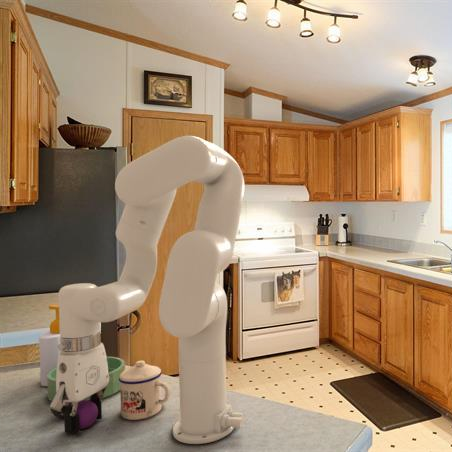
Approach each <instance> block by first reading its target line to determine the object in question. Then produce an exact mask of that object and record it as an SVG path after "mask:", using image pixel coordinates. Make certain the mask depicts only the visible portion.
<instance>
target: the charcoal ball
mask: <svg viewBox="0 0 452 452" xmlns="http://www.w3.org/2000/svg"><path fill="white" fill-rule="evenodd" d="M52 401H53V400H52ZM52 401H50V404H51V403H52ZM63 401H64V400H63ZM63 401H62V404H63ZM71 405H72V403H69V408H71ZM49 407H50V406H49ZM50 413H51V414H52V415H53V416H54V417H56V418H58V419H64V415H61V413H59V412H58V411H57V410H54V409H52V408H51V407H50Z"/></svg>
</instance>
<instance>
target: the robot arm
mask: <svg viewBox="0 0 452 452" xmlns="http://www.w3.org/2000/svg"><path fill="white" fill-rule="evenodd" d="M191 182H192V183H193V182H194V183H199V184H200V183H201V184H202V185H203V187H204V190H203V191H204V192H203V195H202V197H201V199H200V201H199V204H198V208H197V216H196V220H195V224H194V228H193V230H191V231H188V232H186V233H184V234H183V235H181V236H180V237H178V238H177V240H176V241H175V242H174V244H173V245H172V247H171V249H170V251H169V255H168V258H167V263H166V267H165V272H164V278H163V283H162V289H161V293H160V298H159V304H158V317H159V321H160V324H161V326H162V328H163V329H164V331H165V332H166V333H168V335H171V336H173V337H175V338H178V381H179V382H178V383H179V384H178V386H179V414H180V416H179V417H180V418H179V419H178V420H177V421H176V422H175V423H174V424H173V426H172V435H173V438H174V439H175V440H176V441H178V442H180V443H184V444H187V445H203V444H207V443H212V442H216V441H218V440H222V439H223V438H225V437H227V436H228V435H229V434H230V433H232V432H233V430H234V429H242V428H243V427H244V424H245V419H244V413H242V412H234V411H233V407H232V404H231V403H228V394H227V393H228V392H227V391H228V389H227V356H226V355H227V345H226V339H227V337H226V336H227V335H226V333H227V317H228V297H227V294H226V292H225V289H224V288H223V286H222V285H221V284H220V283H219V282H217V278H218V277H217V276H218V275H219V274H221V273H222V272H223V271H225V270H226V269H227V268H228V267H229V266H230V264H231V262H232V259H233V256H234V251H235V243H236V239H237V234H238V228H239V223H240V217H241V213H242V207H243V202H244V197H245V178H244V175H243V170H242V169H241V167H240V165H239V164H238V162H237V161H236V159H234V158H233V157H232V155H230V153H228V152H227V151H226V150H225V149H223V148H221V147H220V146H218V145H217V144H215V143H212V142H210V141H207V140H205V139H204V138H201V137H198V136H195V135H183V136H178V137H176V138H174V139H171V140H169V141H167V142H165V143H164V144H162V145H160V146H158V147H156V148H154V149H152V150H151V151H149V152H147V153H145V154H142V155H141V156H139V157H137V158H136V159H133V160H132V161H130V162H128V163H127V164H126V165H125V166H123V167H122V168H121V170H120V171H119V172H118V174H117V175H116V178H115V182H114V190H115V193H116V195H117V197H118V199H119V200H120V201H121V202H123V203H124V204H125V205H124V208H123V211H122V214H121V216H120V219H119V222H118V224H117V227H116V229H115V238H116V239H117V240H118V241H119V242H120V243H121V244H122V245H123V246H124V249H125V255H126V257H125V263H124V265H123V269H122V272H121V274H120V276H119V280H117V281H114V282H111V283H107V284H104V285H101V286H98V285H96V284H94V283H90V282H83V283H81V282H80V283H72V284H67V285H64V286H62V287H61V288H60V289H59V291H58V305H59V323H60V344H59V345H58V349H59V350H61V353H59V357H58V363H57V372H56V395H55V397H54V399H53V401H51V402H52V403H51V402H50V405H49V407H51V408H52V409H54V410H57V411H58V412H59V413H61V415H64V418H63V425H64V433H66V434H72V435H77V434H79V433H80V429H79V414H76V411H77V407H78V402H80V401H82V400H84V399H85V398H87V397H89V398H90V399H91V400H89V401H92V402H94V403H95V404H96V406H97V408H98V416H97V419H96V420H97V421H99V420H101V419H102V418H103V409H102V407H103V406H102V401H103V400H104V399H105V398H104V396H103V394H104V392H105V390H106V386H107V385H108V383H109V381H110V376H109V375H108V364H107V357H108V356H107V353H106V349H105V345H104V343H103V342H101V323H109V322H110V323H111V322H115V320H116V321H117V320H118V319H120V318H123V317H124V316H127V315H128V314H131V313H133V312H134V311H137V310H138V309H140V308H141V307H142V306H143V305H144V303H145V302H146V299H147V298H148V295H149V293H150V290H151V288H152V285H153V282H154V280H155V276H156V273H157V269H158V244H159V242H160V238H161V236H162V233H163V230H164V227H165V224H166V221H167V219H168V216H169V214H170V211H171V208H172V206H173V203H174V201H175V198H176V195H177V191H178V189H179V188H181V187H183V186H185V185H186V184H188V183H191ZM63 400H64V401H63ZM62 401H63V404H62ZM69 403H72V405H71V408H69Z"/></svg>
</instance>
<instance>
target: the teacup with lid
mask: <svg viewBox="0 0 452 452" xmlns="http://www.w3.org/2000/svg"><path fill="white" fill-rule="evenodd" d="M162 374H163V373H162V369H161V367H159V366H156V365H151V364H148V363H146V362H145V360H138V361H136V362H135V365H133V366H131V367H130V368H128V369H125V371H124V372H122V373H121V374H120V376H119V381H120V390H119V393H120V415H121V417H122V418H124V419H126V420H130V421H136V420H143V419H147V418H150V417H153V416H154V415H156V414H158V413H159V412H160V411H161V410H162V405H163V404H165V403H166V402H168V400H169V399H170V396H171V387H170V386H169V384H168V383H167V382H165V381H162ZM162 388H163V390H164V391H165V394H164V398H163V399H162Z"/></svg>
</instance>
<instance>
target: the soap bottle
mask: <svg viewBox="0 0 452 452" xmlns="http://www.w3.org/2000/svg"><path fill="white" fill-rule="evenodd" d="M48 310H54V311H55V319H53V320H52V321H51V322H50V324H49V331H46V332H44V333H42V334H40V335H39V337H38V343H39V344H38V345H39V346H38V349H39V370H40V371H39V373H40V374H39V375H40V377H39V378H40V385H41V386H42V387H48V386H47V374H48V373H49V372H50V371H51V370H52V369H54V368H56V367H57V363H58V357H59V353H61V350H59V349H58V345H59V344H60V323H59V304H52V305H49V306H48Z"/></svg>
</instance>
